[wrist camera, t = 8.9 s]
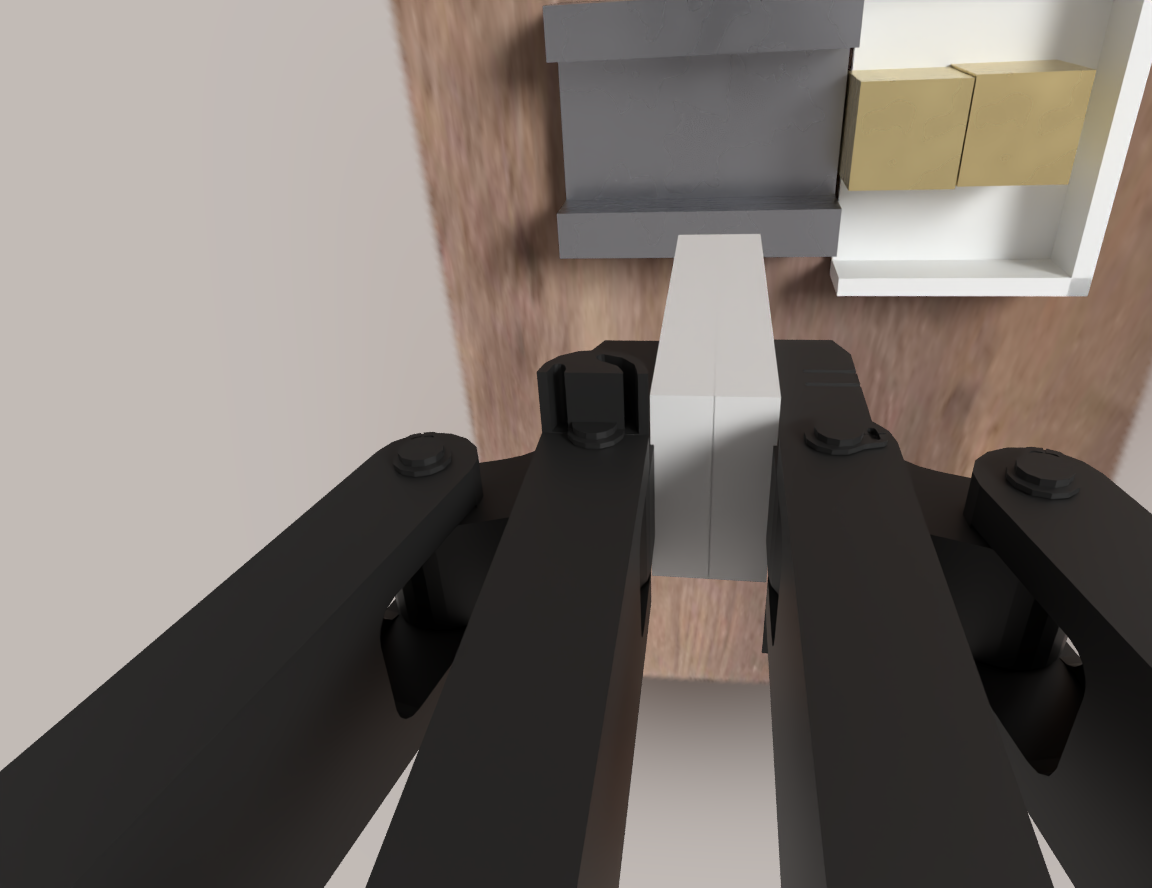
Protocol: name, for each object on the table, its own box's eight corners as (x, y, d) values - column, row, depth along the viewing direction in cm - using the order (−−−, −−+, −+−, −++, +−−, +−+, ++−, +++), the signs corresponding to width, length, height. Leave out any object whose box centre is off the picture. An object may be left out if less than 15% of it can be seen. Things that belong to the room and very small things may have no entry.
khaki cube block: (951, 64, 33) (976, 74, 29) (1057, 59, 32) (1096, 69, 29) (934, 165, 35) (956, 186, 31) (1034, 163, 34) (1068, 184, 31)
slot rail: (559, 2, 34) (542, 5, 31) (852, -16, 32) (865, -14, 29) (573, 235, 39) (559, 258, 36) (827, 232, 37) (836, 256, 34)
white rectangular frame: (866, -75, 31) (878, -80, 29) (1155, -96, 29) (1196, -103, 27) (829, 274, 38) (836, 295, 36) (1062, 273, 36) (1087, 296, 34)
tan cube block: (847, 70, 33) (861, 81, 30) (948, 66, 33) (975, 77, 29) (836, 169, 35) (848, 191, 32) (932, 168, 35) (954, 189, 31)
